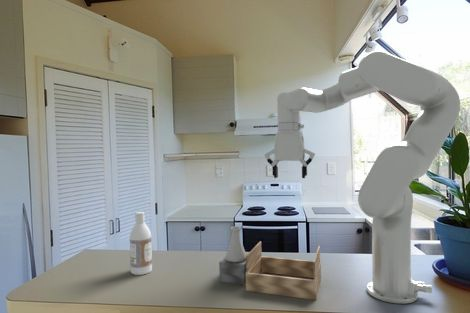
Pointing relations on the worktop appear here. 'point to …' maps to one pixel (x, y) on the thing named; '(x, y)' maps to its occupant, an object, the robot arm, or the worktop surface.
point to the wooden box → (281, 283)
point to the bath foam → (140, 247)
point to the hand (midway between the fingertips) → (289, 177)
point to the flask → (236, 247)
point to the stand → (232, 271)
